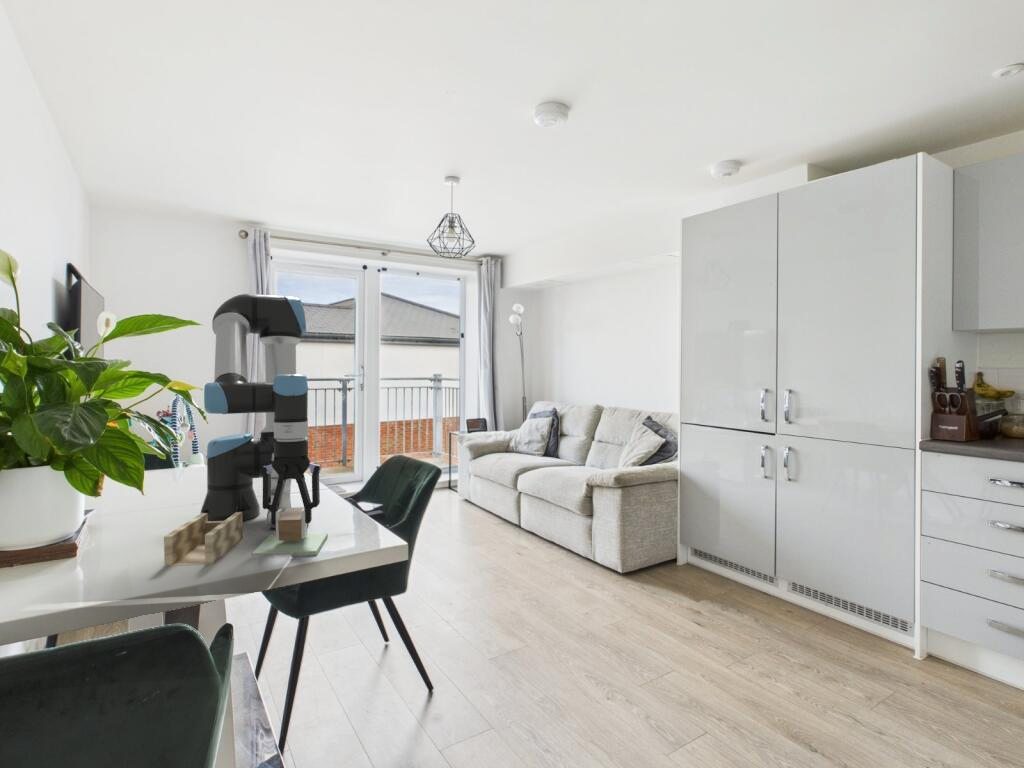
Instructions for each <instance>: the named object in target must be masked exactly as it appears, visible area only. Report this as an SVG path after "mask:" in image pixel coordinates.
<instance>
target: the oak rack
mask: <svg viewBox="0 0 1024 768" xmlns="http://www.w3.org/2000/svg"><path fill="white" fill-rule="evenodd" d="M243 534H244V532H243V520H242V512H236V513H234V514H233V515H232V516H230V517H229V518H228V519H226V520H225V521H208V513H202V514H200V513H199V514H197V515H196V516H194V517H193V518H192V519H190V520H189V521H187V522H185V523H184V524H181V526H179V527H178V528H176V529H174V530H173V531H171V532H169V533H168V534H166V535H165V536H163V546H164V547H163V553H164V555H163V556H164V560H163V561H164V562H163V564H164V565H163V566H164V567H177V566H180V567H181V566H199V565H200V566H201V565H213V564H215V562H217V561H218V560H219V559H220V558H221V557H223V556H224V554H226V553H227V552H228V551H229V550H230V549H231V548H233V546H235V545H236V544H237V543H239V541H240V540H242V539H243Z"/></svg>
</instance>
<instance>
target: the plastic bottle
mask: <svg viewBox="0 0 1024 768" xmlns="http://www.w3.org/2000/svg"><path fill="white" fill-rule="evenodd" d="M271 460H272V461H273V460H274V453H272V459H271ZM278 478H279V475H278V474H277V472H276V471H275V470H274V469H272V473H271V503H272V502H273V498H274V494H275V491H276V487H277V481H278ZM292 480H293V479H286V482H285V485H284V489H283V493H282V497H281V501H280V504H279V506H280V507H279V508H278V509H282V514H283V513H284V511H285V510H286V508H292V500H291V491H292V489H291V488H292ZM266 524H267V526H268V527H269V528H270V529H275V530H276V525H272V523H271V511H270V510H268V509H267V514H266Z"/></svg>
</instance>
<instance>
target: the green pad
mask: <svg viewBox="0 0 1024 768" xmlns="http://www.w3.org/2000/svg"><path fill="white" fill-rule="evenodd" d="M328 537H329V534H328V532H322V533H321V532H318V533H307V536H306V537H305V538H302V540H284V541H279V539H278V540H276V534H271V535H270V534H269V535H268V536H267V537H266V538H265V539H264V540H263V541H262V542H261V543H260V544H259V545H258V546H257V547H256V548H255V549H254V551H252V553H251V556H253V555H254V556H256V555H257V556H258V555H279V554H291V557H307V556H308V555H309V556H308V557H310V556H317V555H318V553H320V551H321V549H322V547H323V546H322V545H324V544H325V542H326V541H327V539H328ZM325 540H326V541H325Z"/></svg>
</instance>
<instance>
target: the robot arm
mask: <svg viewBox="0 0 1024 768" xmlns="http://www.w3.org/2000/svg"><path fill="white" fill-rule="evenodd" d="M305 313H306V312H305V309H304V305H303V303H302V300H301V299H300V298H298V297H295V296H288V295H277V294H275V295H274V294H273V295H272V294H253V293H242V294H237V295H236V296H235V295H234V296H233V297H230V298H228V299H227V300H226V301H224V302H223V303H221V305H220V306H219V307H218V308H217V309H216V310H215V313H214V314H213V318H212V321H211V322H212V323H211V325H212V327H211V328H212V331H213V334H214V335H215V350H214V351H215V355H214V378H213V379H214V380H213V382H207V383H206V384H205V385H204V389H203V390H204V391H203V394H204V395H203V398H204V399H203V404H204V406H203V407H204V410H205V412H206V413H208V414H217V415H219V414H222V415H230V414H232V415H233V414H251V413H254V414H258V413H259V414H260V413H262V414H263V413H264V414H265V425H264V427H263V428H262V429H261V430H260V437H254V435H253V434H252V433H250V432H245V433H237V434H228V435H225V436H219V437H216V438H213V439H211V440H210V441H208V443H207V447H206V455H205V458H206V461H207V462H206V464H207V465H206V468H207V470H206V471H207V472H206V473H207V474H206V475H207V477H206V480H207V481H206V484H207V485H206V486H207V487H206V488H207V490H206V491H207V492H206V494H205V498H204V500H203V503H202V506H201V510H200V513H199V514H202V513H208V521H225V520H226V519H228V518H229V517H230V516H232V515H233V514H234V513H236V512H242V521H246V520H251V519H253V518H255V517H257V516H259V515H260V513H261V512H260V504H259V501H258V498H257V495H256V493H255V490H254V479H260V478H262V509H264V510H267V511H268V510H270V511H271V523H272V525H276V529H275V535H276V540H278V539H279V527H278V520H279V519H280V517H281V516H282V509H278V508H279V507H280V506H279V504H280V501H281V497H282V493H283V489H284V485H285V482H286V479H292V480H295V481H296V483H297V486H298V489H299V495H300V497H301V501H302V504H303V507H304V509H303V510H302V511H301V529H302V538H305V537H306V536H307V534H308V528H307V523H309V524H310V523H312V522H311V521H312V520H313V519H312V518H313V517H312V516H313V515H312V510H313V509H315V508H317V507H318V506H319V505H320V503H321V501H320V500H321V499H320V496H321V495H320V494H321V493H320V474H321V470H322V465H321V464H320V463H317V464H315V463H312V462H311V460H310V458H309V421H308V419H309V418H308V397H309V396H308V394H309V393H308V391H309V387H308V378H307V376H306V375H304V374H297V348H296V347H297V345H298V344H299V343H300V342H301V341H302V336H305V335H306V334H307V326H306V325H307V322H306V321H307V320H306V314H305ZM249 334H253V335H254V334H255V335H256V334H257V335H258V336H259V341H260V342H261V343H262V344H263V345H264V354H265V355H264V362H265V363H264V365H265V367H264V370H265V373H264V374H265V377H264V378H265V381H264V382H251V381H250V382H249V378H248V376H249V375H248V374H249V373H248V350H247V349H248V347H247V346H248V341H247V337H248V335H249ZM272 453H274V460H273V461H272V460H271V459H272ZM272 469H274V470H275V471H276V472H277V474H278V475H279V478H278V481H277V487H276V491H275V494H274V498H273V502H272V503H271V473H272ZM308 469H310V470H309V472H310V473H311V474H312V475H311V492H312V493H311V497H310V494H309V490H308V487H307V483H306V478H305V473H306V472H307V470H308ZM311 499H312V501H311Z"/></svg>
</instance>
